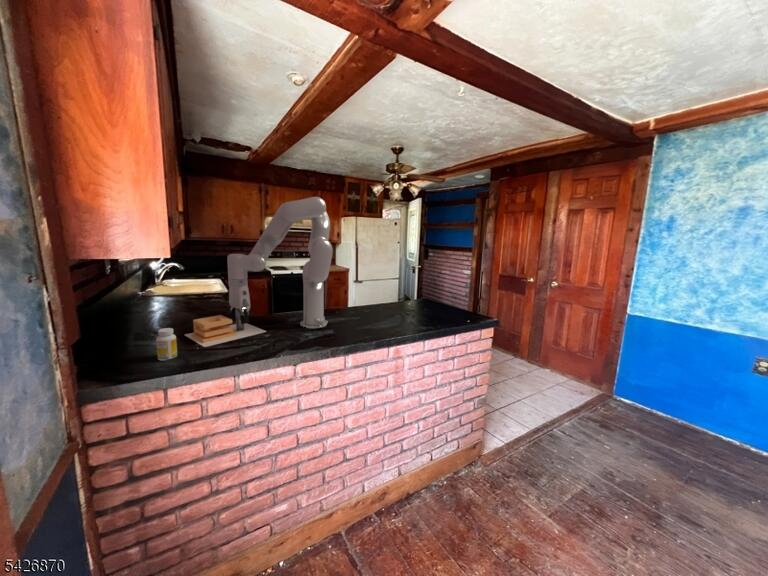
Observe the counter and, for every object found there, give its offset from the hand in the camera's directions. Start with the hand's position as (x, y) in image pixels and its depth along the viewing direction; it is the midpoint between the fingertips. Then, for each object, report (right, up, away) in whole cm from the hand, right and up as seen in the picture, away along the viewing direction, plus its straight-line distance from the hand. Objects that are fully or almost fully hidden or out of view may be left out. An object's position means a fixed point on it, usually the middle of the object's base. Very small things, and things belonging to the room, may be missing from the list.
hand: (239, 321), depth 137 cm
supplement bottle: (-12, -10, -29) cm, 33 cm away
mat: (-4, -5, -4) cm, 8 cm away
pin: (0, -4, +1) cm, 4 cm away
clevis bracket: (-7, -5, -8) cm, 12 cm away
